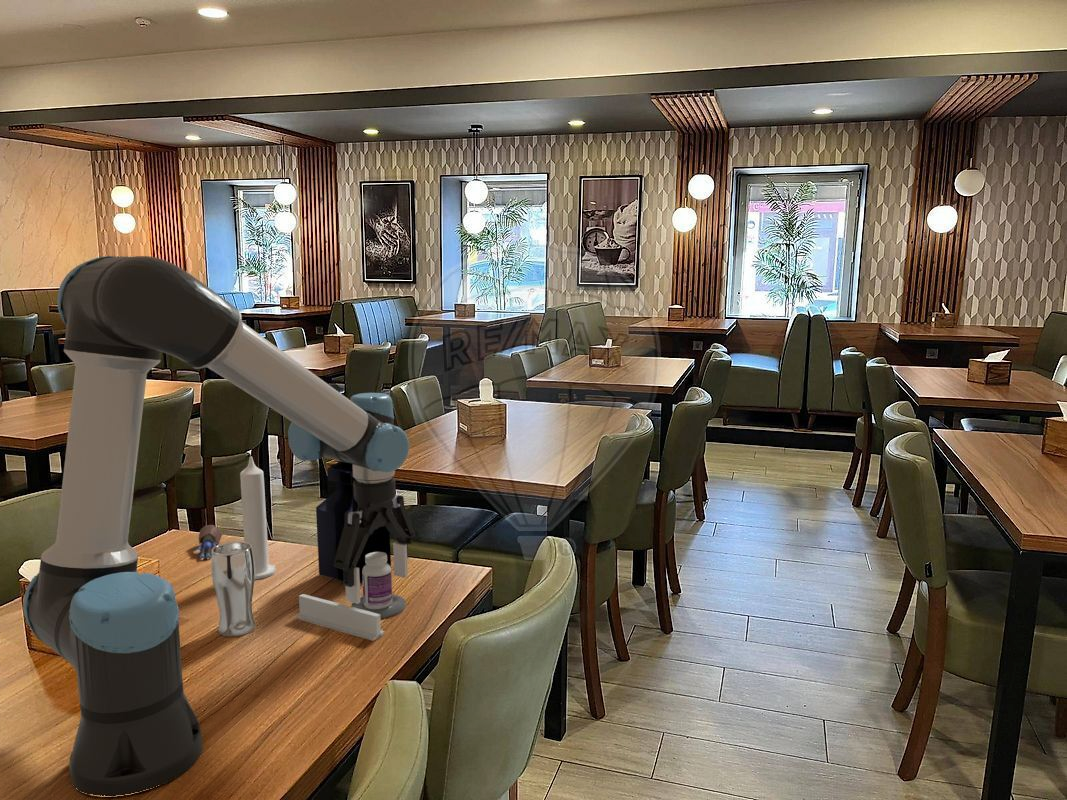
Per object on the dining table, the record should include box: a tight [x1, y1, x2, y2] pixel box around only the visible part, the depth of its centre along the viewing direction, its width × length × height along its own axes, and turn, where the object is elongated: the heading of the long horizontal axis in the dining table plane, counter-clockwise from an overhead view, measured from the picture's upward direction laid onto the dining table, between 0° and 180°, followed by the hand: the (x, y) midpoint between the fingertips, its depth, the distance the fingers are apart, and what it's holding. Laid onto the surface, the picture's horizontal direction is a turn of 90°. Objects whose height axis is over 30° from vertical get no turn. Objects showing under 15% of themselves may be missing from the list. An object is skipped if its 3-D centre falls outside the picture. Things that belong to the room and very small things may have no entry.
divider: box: [295, 593, 386, 642], centre depth 137 cm, size 3×18×4 cm, turn 62°
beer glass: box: [210, 540, 256, 638], centre depth 135 cm, size 7×7×15 cm
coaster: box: [350, 593, 407, 620], centre depth 146 cm, size 10×10×1 cm
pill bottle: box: [362, 552, 393, 610], centre depth 145 cm, size 5×5×10 cm
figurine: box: [193, 524, 223, 560], centre depth 175 cm, size 6×5×12 cm
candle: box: [239, 456, 277, 580], centre depth 160 cm, size 7×7×25 cm
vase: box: [315, 461, 392, 583], centre depth 162 cm, size 14×12×35 cm
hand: (378, 588), depth 145 cm, fingers open, 13 cm apart
